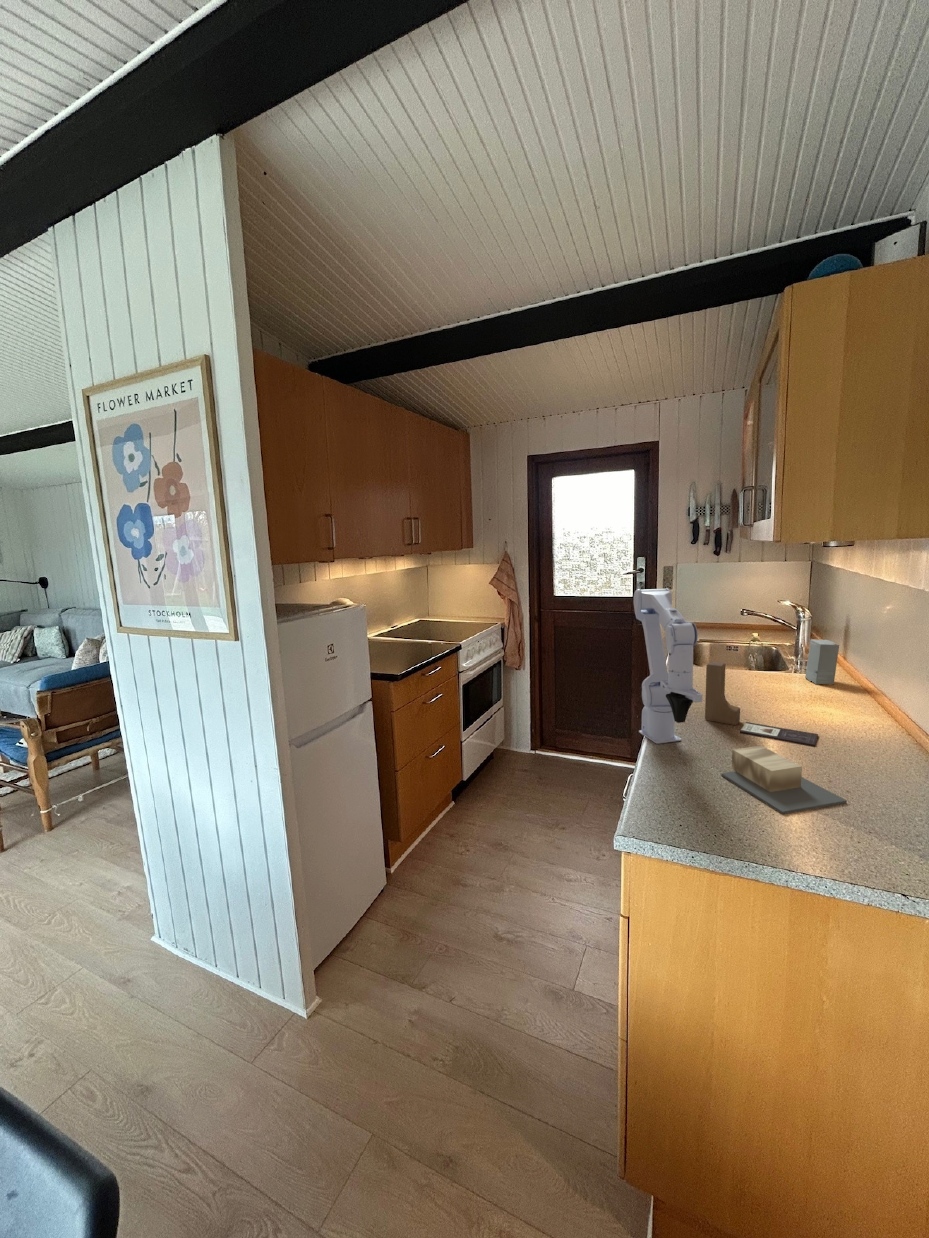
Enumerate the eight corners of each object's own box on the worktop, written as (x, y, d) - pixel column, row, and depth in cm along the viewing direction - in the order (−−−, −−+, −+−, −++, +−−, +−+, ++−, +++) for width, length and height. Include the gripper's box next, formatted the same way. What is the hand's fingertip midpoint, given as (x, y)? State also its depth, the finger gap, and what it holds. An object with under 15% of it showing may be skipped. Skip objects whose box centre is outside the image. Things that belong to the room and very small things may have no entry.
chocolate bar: (814, 744, 134) (739, 731, 146) (814, 748, 135) (739, 734, 146) (818, 734, 141) (746, 721, 153) (817, 737, 141) (746, 724, 153)
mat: (721, 775, 121) (721, 773, 121) (778, 766, 124) (778, 764, 124) (782, 814, 103) (782, 811, 103) (846, 802, 107) (846, 800, 106)
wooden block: (739, 721, 155) (742, 664, 152) (736, 725, 151) (738, 668, 148) (708, 715, 160) (710, 661, 158) (704, 720, 157) (706, 664, 154)
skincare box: (804, 678, 195) (807, 639, 192) (825, 678, 193) (827, 638, 191) (815, 685, 186) (818, 643, 184) (837, 685, 185) (840, 643, 183)
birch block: (732, 749, 122) (771, 770, 110) (760, 745, 124) (802, 766, 112) (731, 768, 123) (770, 792, 111) (760, 764, 124) (800, 787, 113)
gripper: (650, 665, 133) (649, 714, 135) (684, 678, 119) (683, 733, 121) (673, 663, 135) (673, 711, 136) (710, 675, 121) (709, 729, 122)
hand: (679, 721), depth 129 cm, fingers closed
